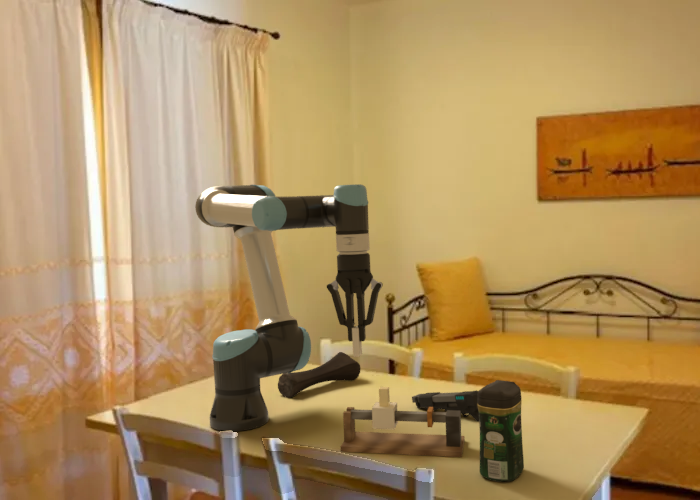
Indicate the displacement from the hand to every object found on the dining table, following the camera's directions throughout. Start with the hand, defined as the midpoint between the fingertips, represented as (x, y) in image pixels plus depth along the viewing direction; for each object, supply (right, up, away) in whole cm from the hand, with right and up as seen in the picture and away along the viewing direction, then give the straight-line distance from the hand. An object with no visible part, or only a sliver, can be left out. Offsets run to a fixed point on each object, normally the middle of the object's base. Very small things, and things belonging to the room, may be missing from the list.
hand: (357, 355), depth 155 cm
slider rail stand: (+10, -21, -1) cm, 23 cm away
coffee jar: (+29, -21, -18) cm, 40 cm away
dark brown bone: (-10, -18, +52) cm, 56 cm away
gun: (+24, -19, +22) cm, 38 cm away
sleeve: (+6, -16, 0) cm, 17 cm away
